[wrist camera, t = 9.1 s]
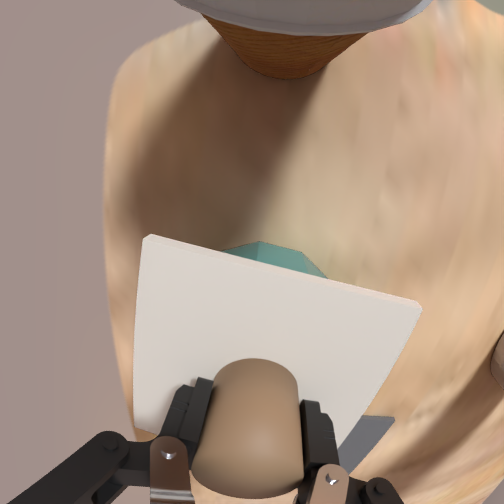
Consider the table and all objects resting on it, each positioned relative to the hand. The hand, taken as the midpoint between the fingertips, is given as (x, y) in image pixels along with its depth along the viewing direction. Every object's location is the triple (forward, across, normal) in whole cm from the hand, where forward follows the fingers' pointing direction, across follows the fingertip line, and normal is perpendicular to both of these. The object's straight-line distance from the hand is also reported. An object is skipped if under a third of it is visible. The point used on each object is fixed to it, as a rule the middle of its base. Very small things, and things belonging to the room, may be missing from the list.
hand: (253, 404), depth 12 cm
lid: (+2, 0, 0) cm, 2 cm away
